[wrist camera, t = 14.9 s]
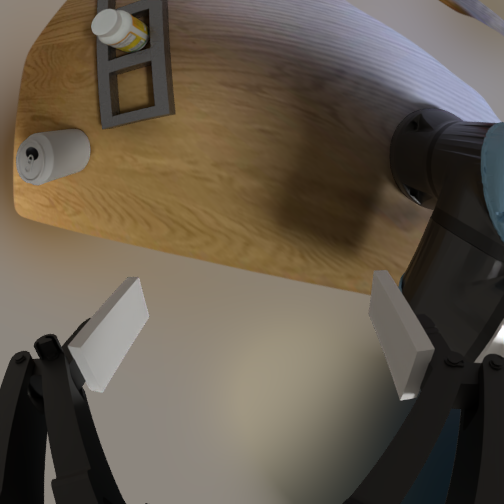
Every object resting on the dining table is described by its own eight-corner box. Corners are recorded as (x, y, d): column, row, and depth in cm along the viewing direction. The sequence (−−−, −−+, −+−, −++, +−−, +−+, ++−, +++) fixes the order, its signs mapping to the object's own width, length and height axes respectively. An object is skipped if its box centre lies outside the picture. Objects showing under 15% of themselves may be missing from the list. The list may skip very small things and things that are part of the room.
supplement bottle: (144, 55, 36) (113, 41, 27) (115, 51, 35) (81, 40, 27) (155, 24, 34) (127, 4, 25) (126, 21, 33) (95, 4, 25)
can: (97, 133, 41) (50, 139, 30) (88, 177, 44) (42, 194, 33) (64, 124, 40) (16, 130, 29) (57, 166, 43) (10, 180, 32)
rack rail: (166, -38, 29) (161, -45, 26) (175, 114, 39) (169, 113, 37) (106, -18, 30) (99, -22, 28) (110, 128, 40) (102, 129, 38)
